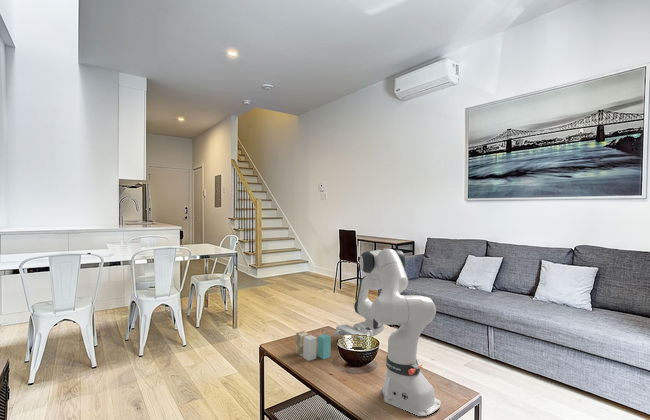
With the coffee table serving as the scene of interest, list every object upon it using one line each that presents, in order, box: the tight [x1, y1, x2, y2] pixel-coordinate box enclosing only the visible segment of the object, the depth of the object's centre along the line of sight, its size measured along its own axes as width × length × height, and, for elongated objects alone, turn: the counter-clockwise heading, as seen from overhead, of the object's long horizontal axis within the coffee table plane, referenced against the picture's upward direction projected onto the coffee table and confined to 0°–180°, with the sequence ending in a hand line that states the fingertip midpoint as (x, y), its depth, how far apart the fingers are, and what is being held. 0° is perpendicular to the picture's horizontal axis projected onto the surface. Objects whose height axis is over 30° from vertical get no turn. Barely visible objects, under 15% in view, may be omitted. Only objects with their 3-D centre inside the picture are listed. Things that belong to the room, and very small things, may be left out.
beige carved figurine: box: [295, 330, 310, 357], centre depth 166 cm, size 4×4×10 cm
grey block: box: [302, 334, 318, 362], centre depth 161 cm, size 4×4×10 cm
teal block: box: [316, 333, 332, 360], centre depth 163 cm, size 4×4×10 cm
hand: (341, 337), depth 171 cm, fingers open, 8 cm apart
